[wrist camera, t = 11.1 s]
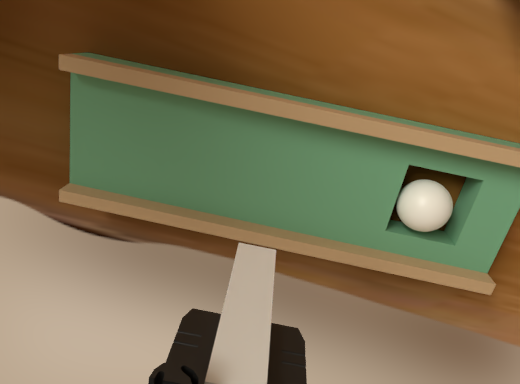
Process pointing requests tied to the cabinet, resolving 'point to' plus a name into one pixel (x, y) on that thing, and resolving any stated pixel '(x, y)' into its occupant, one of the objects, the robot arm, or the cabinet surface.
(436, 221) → the ball
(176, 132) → the putting strip
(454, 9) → the cabinet surface
